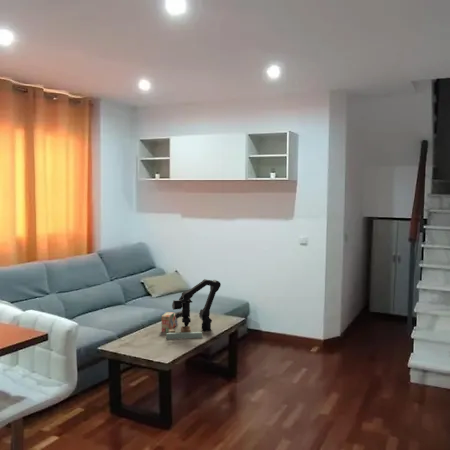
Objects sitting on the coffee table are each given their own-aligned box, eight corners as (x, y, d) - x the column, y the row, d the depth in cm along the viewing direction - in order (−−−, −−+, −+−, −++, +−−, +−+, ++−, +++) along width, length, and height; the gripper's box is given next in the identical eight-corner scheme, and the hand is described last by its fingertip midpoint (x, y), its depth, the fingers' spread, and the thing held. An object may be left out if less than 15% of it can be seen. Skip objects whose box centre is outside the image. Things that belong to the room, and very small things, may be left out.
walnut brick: (190, 332, 371) (190, 326, 371) (190, 336, 361) (190, 330, 361) (180, 332, 370) (180, 326, 370) (181, 336, 361) (181, 330, 360)
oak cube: (173, 334, 366) (173, 329, 366) (175, 336, 362) (175, 330, 362) (168, 335, 365) (168, 329, 364) (169, 336, 361) (169, 331, 361)
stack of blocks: (170, 324, 394) (170, 309, 393) (177, 324, 393) (177, 309, 392) (161, 331, 373) (161, 315, 372) (169, 332, 372) (169, 316, 371)
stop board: (201, 336, 361) (201, 331, 361) (202, 337, 358) (202, 332, 358) (166, 337, 358) (166, 332, 358) (166, 338, 355) (166, 334, 355)
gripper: (175, 305, 379) (175, 325, 380) (175, 311, 361) (175, 332, 362) (189, 305, 380) (189, 325, 382) (190, 311, 362) (190, 332, 363)
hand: (185, 328), depth 372 cm, fingers closed
